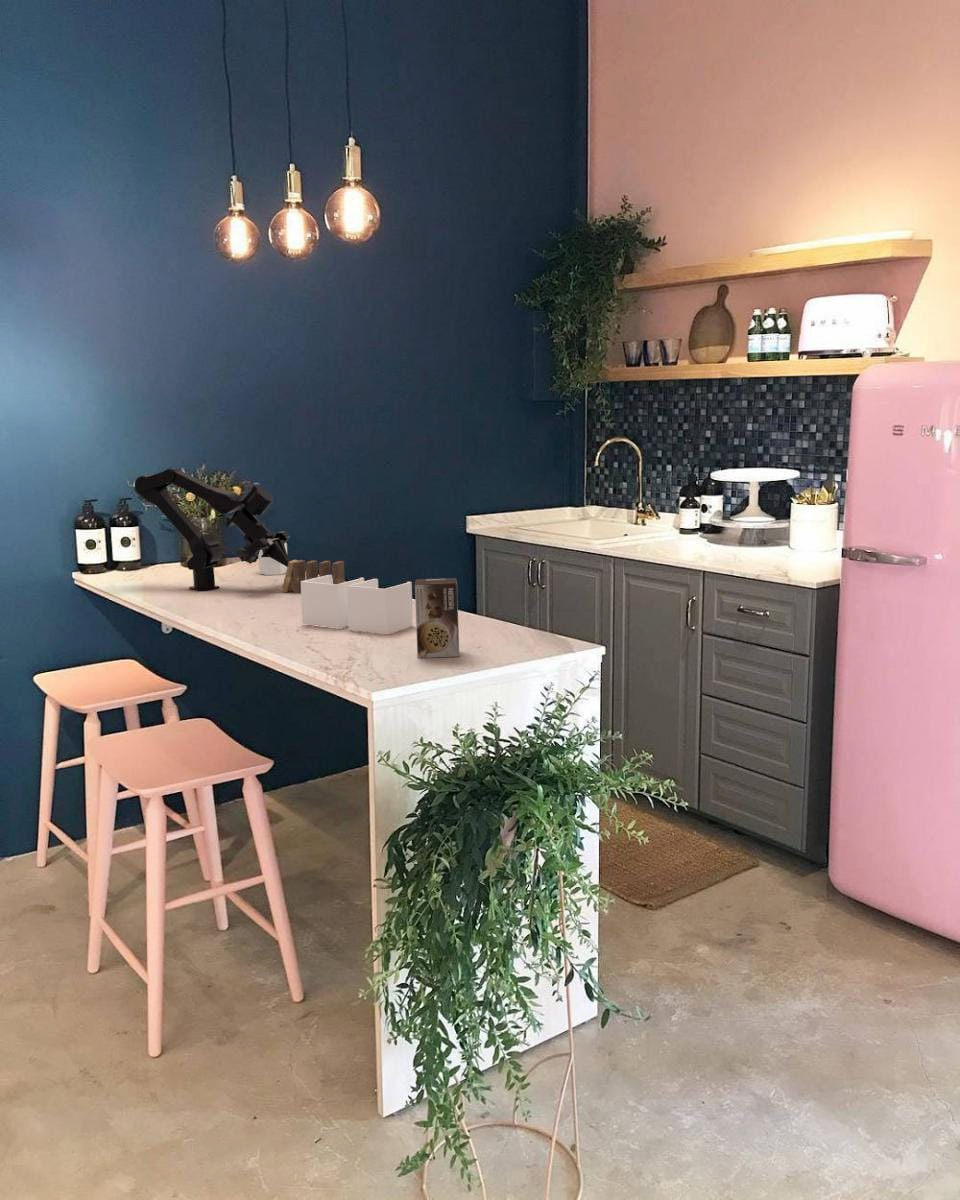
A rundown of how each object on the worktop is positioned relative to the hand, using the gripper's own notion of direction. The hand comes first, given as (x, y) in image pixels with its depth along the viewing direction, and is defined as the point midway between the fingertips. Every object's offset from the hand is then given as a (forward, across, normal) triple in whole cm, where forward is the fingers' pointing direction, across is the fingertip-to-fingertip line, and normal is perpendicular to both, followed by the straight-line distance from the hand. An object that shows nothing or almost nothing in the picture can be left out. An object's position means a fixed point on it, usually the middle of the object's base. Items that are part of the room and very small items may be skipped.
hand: (288, 565), depth 318 cm
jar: (-8, -30, -19) cm, 36 cm away
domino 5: (+16, 0, +5) cm, 17 cm away
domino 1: (+4, 0, -6) cm, 7 cm away
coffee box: (+51, +66, +40) cm, 93 cm away
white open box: (+31, +41, +20) cm, 55 cm away
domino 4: (+13, 0, +2) cm, 13 cm away
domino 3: (+10, 0, 0) cm, 10 cm away
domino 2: (+7, 0, -3) cm, 8 cm away
